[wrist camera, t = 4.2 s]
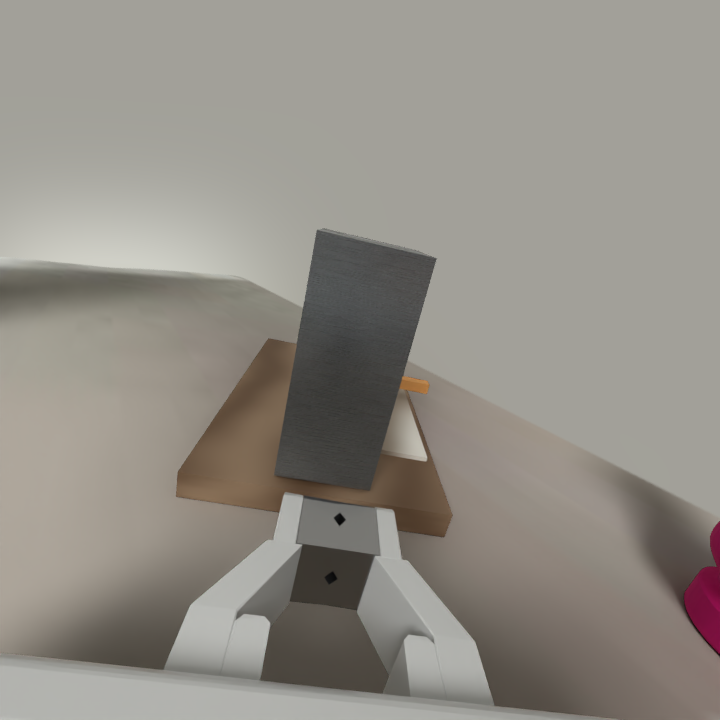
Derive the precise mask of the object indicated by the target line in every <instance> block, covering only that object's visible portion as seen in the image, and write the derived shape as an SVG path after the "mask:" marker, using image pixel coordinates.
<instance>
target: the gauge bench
mask: <svg viewBox="0 0 720 720" xmlns="http://www.w3.org/2000/svg"><path fill="white" fill-rule="evenodd" d="M296 346H297V344H293V343H288V342H284V341H279V340H274V339H269V338H268V340H267V341H266V343H265V344H264V346H263V347H262V349H261V350H260V352H259V353H258V355H257V356H256V357H255V359H254V360H253V362H252V363H251V365H250V366H249V368H248V369H247V371H246V372H245V374H244V375H243V377H242V378H241V380H240V381H239V383H238V384H237V385H236V387H235V388H234V390H233V391H232V393H231V394H230V396H229V397H228V399H227V400H226V402H225V403H224V405H223V406H222V408H221V409H220V411H219V412H218V413H217V415H216V416H215V418H214V419H213V421H212V422H211V424H210V425H209V427H208V428H207V430H206V431H205V433H204V434H203V436H202V437H201V438H200V440H199V441H198V443H197V444H196V446H195V447H194V449H193V450H192V452H191V453H190V455H189V456H188V458H187V459H186V461H185V462H184V464H183V465H182V466H181V468H180V469H179V471H178V477H177V491H176V497H183V498H189V499H196V500H202V501H209V502H216V503H222V504H229V505H235V506H242V507H249V508H255V509H262V510H268V511H275V512H280V508H281V504H282V500H283V496H284V493H285V492H288V493H293V494H299V495H303V497H304V495H306V496H311V497H316V498H322V499H327V500H332V501H338V502H344V503H350V504H357V505H363V506H369V507H379V508H386V509H392V510H393V511H394V513H395V519H396V525H397V530H400V531H407V532H414V533H420V534H427V535H434V536H440V537H444V536H445V534H446V531H447V528H448V526H449V523H450V521H451V518H452V516H453V515H452V512H451V510H450V507H449V504H448V501H447V499H446V496H445V493H444V490H443V488H442V485H441V482H440V479H439V476H438V474H437V471H436V468H435V465H434V463H433V460H432V457H431V454H430V452H429V449H428V446H427V443H426V441H425V438H424V435H423V432H422V430H421V427H420V424H419V421H418V419H417V416H416V413H415V410H414V407H413V405H412V402H411V399H410V396H409V394H408V391H407V390H404V389H399V391H398V395H397V398H396V401H395V405H394V408H393V412H392V415H391V419H390V422H389V426H388V429H387V433H386V436H385V440H384V443H383V447H382V450H381V454H380V457H379V461H378V464H377V468H376V471H375V475H374V478H373V482H372V485H371V489H370V491H368V490H362V489H356V488H349V487H343V486H337V485H331V484H325V483H319V482H312V481H306V480H300V479H294V478H288V477H281V476H275V475H274V471H275V466H276V460H277V454H278V449H279V443H280V437H281V432H282V426H283V420H284V415H285V409H286V403H287V398H288V392H289V386H290V380H291V375H292V369H293V363H294V358H295V352H296Z"/></svg>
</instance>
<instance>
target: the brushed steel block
mask: <svg viewBox="0 0 720 720" xmlns="http://www.w3.org/2000/svg"><path fill="white" fill-rule="evenodd" d="M435 262H436V258H434V257H432V256H429V255H427V254H424V253H421V252H419V251H416V250H413V249H409V248H405V247H400V246H396V245H392V244H387V243H384V242H379V241H375V240H371V239H367V238H363V237H358V236H354V235H349V234H346V233H341V232H337V231H333V230H329V229H320V230H317V233H316V238H315V244H314V250H313V255H312V261H311V267H310V272H309V278H308V284H307V290H306V295H305V302H304V307H303V312H302V318H301V324H300V329H299V335H298V341H297V346H296V352H295V358H294V363H293V369H292V375H291V380H290V386H289V392H288V398H287V403H286V409H285V415H284V420H283V426H282V432H281V437H280V443H279V449H278V454H277V460H276V466H275V471H274V475H275V476H281V477H288V478H294V479H300V480H306V481H312V482H319V483H325V484H331V485H337V486H343V487H349V488H356V489H362V490H368V491H370V489H371V485H372V482H373V478H374V475H375V471H376V468H377V464H378V461H379V457H380V454H381V450H382V447H383V443H384V440H385V436H386V433H387V429H388V426H389V422H390V419H391V415H392V412H393V408H394V405H395V401H396V398H397V395H398V391H399V388H400V384H401V381H402V377H403V374H404V370H405V367H406V363H407V360H408V356H409V352H410V349H411V346H412V342H413V339H414V335H415V332H416V328H417V325H418V321H419V318H420V314H421V311H422V307H423V304H424V301H425V297H426V294H427V290H428V287H429V283H430V279H431V276H432V273H433V269H434V265H435Z"/></svg>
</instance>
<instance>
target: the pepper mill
mask: <svg viewBox="0 0 720 720" xmlns="http://www.w3.org/2000/svg"><path fill="white" fill-rule="evenodd" d="M710 547H711V551H712V554H713V557H714V560H715V562H716V565H717V567H705V568H703V569H702V570H701V571H700V572H699V573H698V574H697V576H696V577H695V579H694V580H693V581H692V583H691V584H690V585H689V587H688V588H687V590H686V591H685V594H684V602H685V606H686V610H687V612H688V614H689V616H690V618H691V619H692V621H693V623H694V625H695V626H696V628H697V629H698V630H699V631H700V633H701V634H702V635H703V637H704V638H705V639H706V640H707V642H708V643H709V644H710V645H711V646H712V647H713V648H714V649H715V650H716V651H717V652H718V653H719V654H720V521H719V522H718V524H717V525H716V526H715V527H714V529H713V531H712V533H711V536H710Z"/></svg>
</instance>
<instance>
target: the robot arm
mask: <svg viewBox="0 0 720 720" xmlns="http://www.w3.org/2000/svg"><path fill="white" fill-rule="evenodd" d="M289 601H292V602H302V603H312V604H322V605H328V606H335V607H341V608H347V609H353V610H357V614H358V616H359V618H360V620H361V622H362V623H363V625H364V627H365V629H366V631H367V633H368V635H369V637H370V639H371V641H372V643H373V645H374V647H375V649H376V651H377V653H378V655H379V657H380V659H381V661H382V663H383V665H384V667H385V669H386V671H387V673H388V675H389V678H388V681H387V683H386V686H385V688H384V691H383V693H382V694H379V693H370V692H361V691H351V690H342V689H333V688H324V687H315V686H306V685H296V684H287V683H278V682H269V681H260V678H261V672H262V667H263V662H264V656H265V651H266V645H267V640H268V634H269V629H270V627H271V626H272V625H273V624H274V622H275V621H276V620H277V618H278V617H279V616H280V615H281V613H282V612H283V611H284V609H285V608H286V607H287V606H288V604H289ZM0 720H622V719H612V718H603V717H594V716H585V715H575V714H566V713H557V712H548V711H539V710H529V709H520V708H511V707H501V706H495V705H494V702H493V699H492V695H491V692H490V689H489V685H488V682H487V679H486V676H485V672H484V669H483V666H482V662H481V659H480V656H479V653H478V649H477V646H476V643H475V641H474V640H473V638H472V637H471V636H470V635H469V634H468V632H467V631H466V630H465V629H464V628H463V626H462V625H461V624H460V623H459V622H458V620H457V619H456V618H455V617H454V616H453V614H452V613H451V612H450V611H449V610H448V608H447V607H446V606H445V605H444V603H443V602H442V601H441V600H440V599H439V597H438V596H437V595H436V594H435V593H434V591H433V590H432V589H431V588H430V587H429V585H428V584H427V583H426V582H425V581H424V579H423V578H422V577H421V576H420V575H419V573H418V572H417V571H416V570H415V569H414V567H413V566H412V565H411V564H410V563H409V561H408V560H402V555H401V549H400V543H399V537H398V531H397V525H396V519H395V513H394V511H393V510H392V509H386V508H379V507H369V506H363V505H357V504H350V503H344V502H338V501H332V500H327V499H322V498H316V497H311V496H306V495H304V497H303V495H299V494H293V493H288V492H285V493H284V496H283V500H282V504H281V508H280V512H279V517H278V521H277V525H276V529H275V534H274V538H273V540H266V541H265V542H264V543H262V544H261V545H260V546H259V547H258V548H257V549H255V550H254V551H253V552H252V553H251V554H250V555H248V556H247V557H246V558H245V559H244V560H242V561H241V562H240V563H239V564H238V565H237V566H235V567H234V568H233V569H232V570H231V571H229V572H228V573H227V574H226V575H225V576H224V577H222V578H221V579H220V580H219V581H218V582H217V583H215V584H214V585H213V586H212V587H211V588H209V589H208V590H207V591H206V592H205V593H204V594H202V595H201V596H200V597H199V598H198V599H196V600H195V601H194V602H193V603H192V604H191V605H190V607H189V609H188V612H187V614H186V616H185V619H184V621H183V624H182V626H181V628H180V631H179V633H178V635H177V638H176V640H175V643H174V645H173V647H172V650H171V652H170V655H169V657H168V659H167V662H166V664H165V667H164V669H163V670H158V669H149V668H139V667H130V666H121V665H112V664H102V663H93V662H84V661H75V660H65V659H56V658H47V657H38V656H28V655H19V654H10V653H1V652H0Z"/></svg>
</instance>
